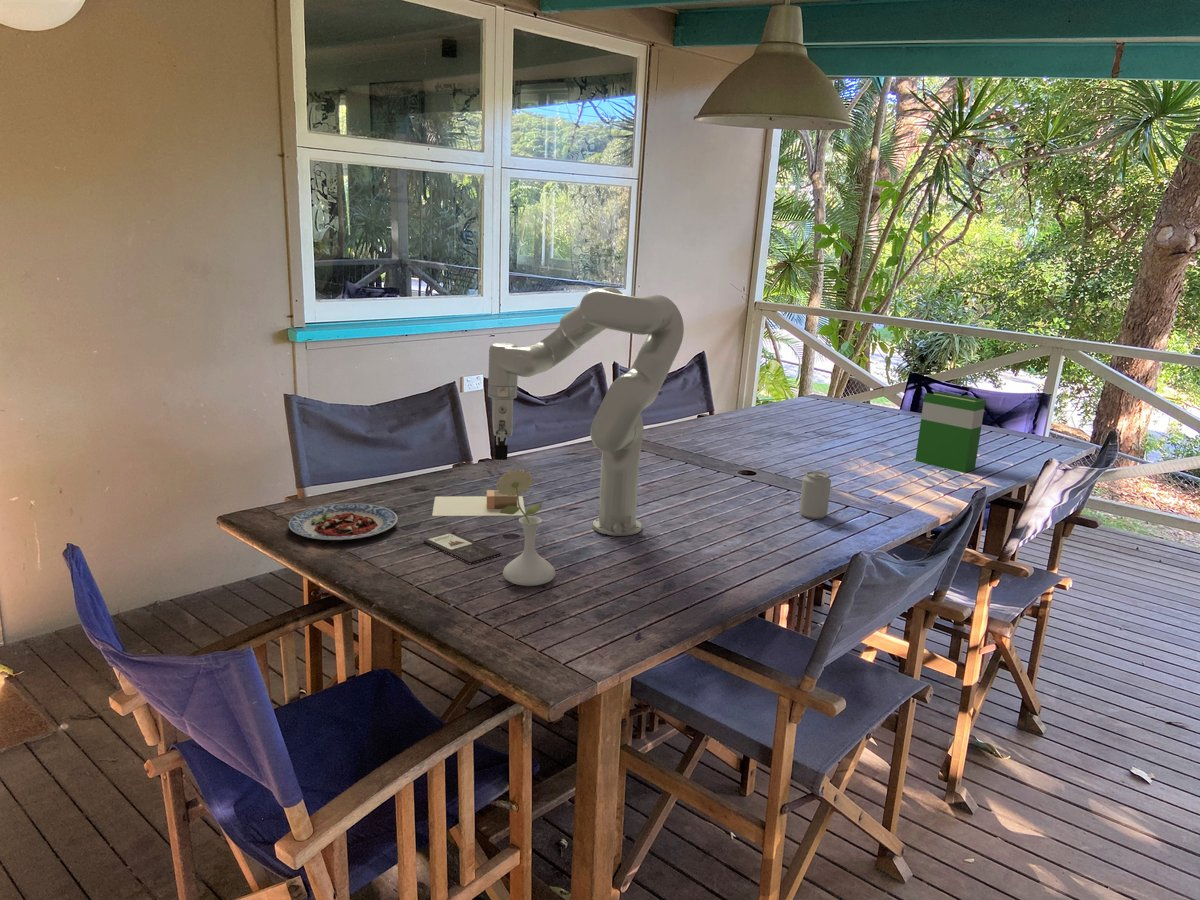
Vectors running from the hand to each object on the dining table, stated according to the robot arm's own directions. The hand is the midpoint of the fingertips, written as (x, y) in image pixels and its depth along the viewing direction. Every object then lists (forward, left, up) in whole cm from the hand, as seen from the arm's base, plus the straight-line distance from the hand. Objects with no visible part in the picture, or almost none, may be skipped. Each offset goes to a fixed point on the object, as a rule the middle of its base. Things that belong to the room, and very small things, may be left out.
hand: (500, 454), depth 227 cm
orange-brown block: (0, 0, -14) cm, 14 cm away
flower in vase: (-48, -4, -15) cm, 51 cm away
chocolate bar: (-29, +9, -16) cm, 35 cm away
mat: (0, +6, -15) cm, 16 cm away
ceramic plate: (-14, +39, -16) cm, 44 cm away
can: (-7, -85, -15) cm, 87 cm away
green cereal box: (+44, -152, -15) cm, 159 cm away
